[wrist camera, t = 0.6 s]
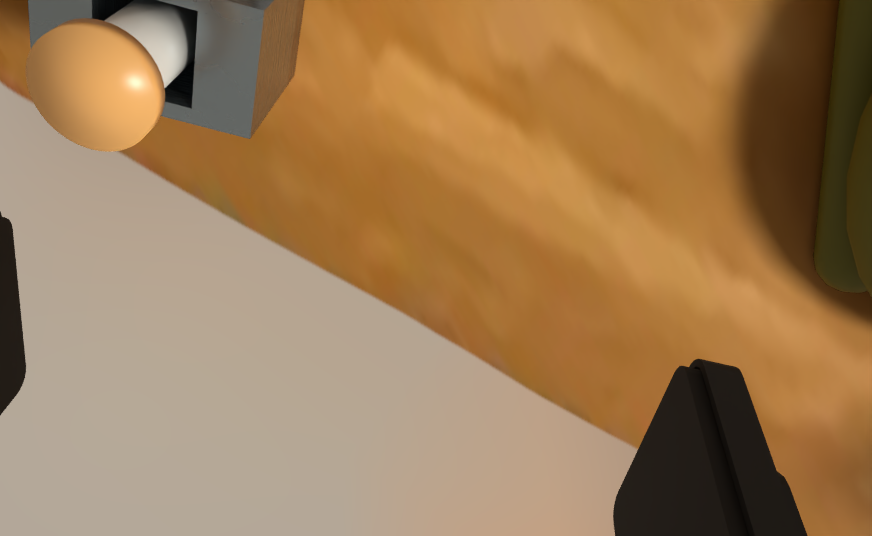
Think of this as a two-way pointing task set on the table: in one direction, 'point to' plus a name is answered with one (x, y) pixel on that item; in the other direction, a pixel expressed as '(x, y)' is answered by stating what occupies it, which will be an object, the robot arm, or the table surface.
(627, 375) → the table surface
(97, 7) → the rail base
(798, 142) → the table surface
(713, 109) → the table surface
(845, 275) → the green toy turtle
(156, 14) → the button
